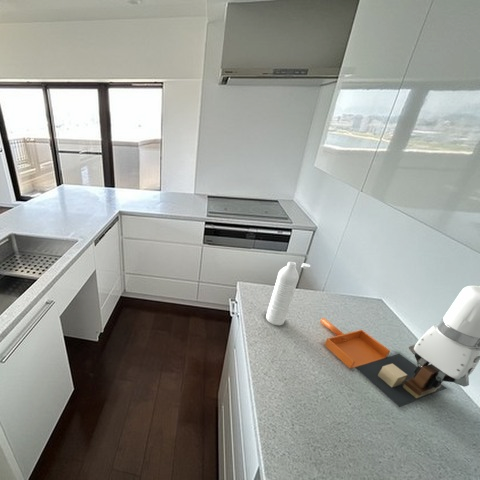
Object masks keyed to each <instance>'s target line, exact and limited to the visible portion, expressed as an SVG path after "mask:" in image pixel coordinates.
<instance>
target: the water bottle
mask: <svg viewBox="0 0 480 480" xmlns="http://www.w3.org/2000/svg"><path fill="white" fill-rule="evenodd" d="M296 267H297V263H296V262H295V261H290V260H289V261H288V262H287V265H286V266H284V267H282V268H281V269H280V270H279V271H278V273H277V277H276V281H275V284H274V287H273V291H272V295H271V297H270V301H269V304H268V307H267V310H266V311H267V312H266V315H265V319H266V320H267V322H268V323H270V324H271V325H274V326H283V325H284V324H285V322H286V318H287V316H288V313H289V309H290V307H291V303H292V300H293V297H294V293H295V291H296V288H297V286H298V285H297V284H298V282H299V279H300V275H299V272H298V270H297V268H296ZM300 267H301V268H302V269H303V270H304V269H305V270H309V269H311V264H309V263H306V262H302V263H301V266H300Z"/></svg>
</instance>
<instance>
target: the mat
mask: <svg viewBox="0 0 480 480" xmlns="http://www.w3.org/2000/svg"><path fill="white" fill-rule="evenodd" d="M392 363H393V364H394V365H395V366H397V367H398V368H399V369H400V370H402V371H403V372H404V373H406V374H407V376H406V378H405V379H404V381H403V382H402V384H400V385H398V386H395V387H391V386H389V385H388V384H387V383H386V382H385V381H383V380H382V379H381V378H380V377H379V376H378V374H379V372H380V371H381V369H382V367H383V366H386V365H389V364H392ZM417 367H418V365H417V364H414V363H413V362H411V361H410V360H409V359H408V358H406V357H405V356H403V355H402V354H401V353H396V354H393V355H390V356H387V357H386V358H383V359H380V360H377V361H374V362H370V363H367V364H364V365H361V366H357V367H354V368H355V369H356V370H357V371H358V372H359V373H360V374H361V375H363V376H364V377H365V378H366V379H367V380H368V381H369V382H371V383H372V384H373V385H374V386H375V387H376V388H377V389H378V390H380V391H381V392H382V393H383V394H384V395H385V396H386V397H387V398H389V399H390V400H391V401H392V402H393V403H394V404H396V405H397V406H398V407H399V408H401V407H403V406H406V405H408V404H412V403H413V402H416V401H418V400H421V399H423V398H426V397H428V396H431V395H434V394H437V393H439V392H441V391H444V390H447V387H446V386H444V385H443V383H441V386H440V388H438V389H437V390H436V391H435V392H432V393H429V394H427V395H424V396H422V397H419V398H415V397H414V396H413V395H412V394H411V393H409V392H408V391H407V390H406V389H404V388H403V386H404V382H405V381H406V380H408V379H411V378H414V375H415V373H414V371H415V370H416V368H417Z"/></svg>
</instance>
